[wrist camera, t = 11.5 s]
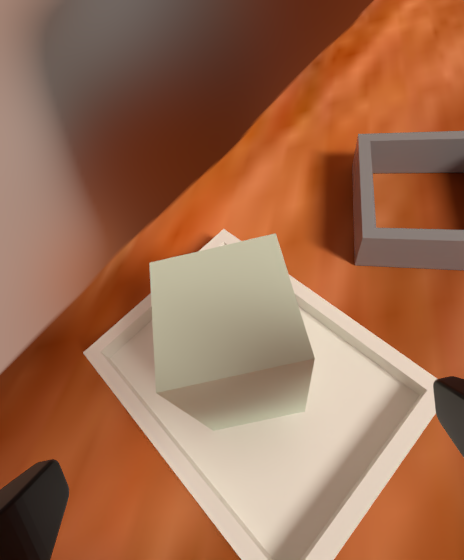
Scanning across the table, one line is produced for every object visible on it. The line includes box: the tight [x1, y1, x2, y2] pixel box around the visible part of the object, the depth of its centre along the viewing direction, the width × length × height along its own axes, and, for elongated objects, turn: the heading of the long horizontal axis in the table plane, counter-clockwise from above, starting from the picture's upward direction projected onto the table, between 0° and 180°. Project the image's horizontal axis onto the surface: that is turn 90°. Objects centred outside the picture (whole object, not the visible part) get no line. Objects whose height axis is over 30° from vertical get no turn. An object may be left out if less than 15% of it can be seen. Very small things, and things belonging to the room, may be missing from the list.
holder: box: [352, 131, 464, 270], centre depth 23 cm, size 10×10×3 cm
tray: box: [83, 229, 437, 560], centre depth 19 cm, size 16×12×2 cm
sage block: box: [149, 233, 315, 431], centre depth 16 cm, size 5×5×9 cm
